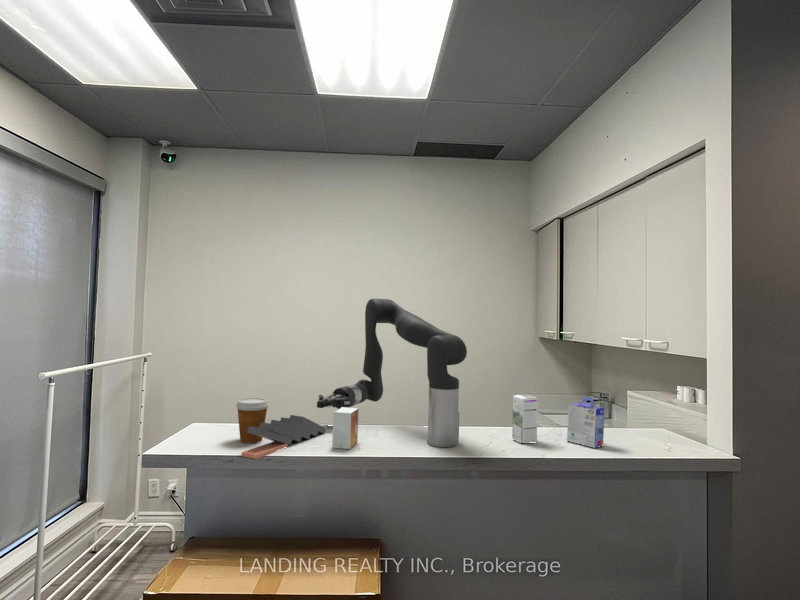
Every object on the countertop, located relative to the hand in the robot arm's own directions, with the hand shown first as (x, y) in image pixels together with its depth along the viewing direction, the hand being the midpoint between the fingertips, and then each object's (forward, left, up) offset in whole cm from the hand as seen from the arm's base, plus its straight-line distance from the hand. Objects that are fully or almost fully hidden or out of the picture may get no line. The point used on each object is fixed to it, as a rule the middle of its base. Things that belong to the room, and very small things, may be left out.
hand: (319, 404), depth 160 cm
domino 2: (+18, +4, -9) cm, 20 cm away
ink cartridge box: (-52, +68, -9) cm, 86 cm away
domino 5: (+4, +1, -8) cm, 9 cm away
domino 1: (+16, +4, -8) cm, 18 cm away
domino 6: (0, 0, -8) cm, 8 cm away
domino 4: (+8, +2, -8) cm, 11 cm away
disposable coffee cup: (+21, -6, -9) cm, 23 cm away
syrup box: (-40, +53, -9) cm, 67 cm away
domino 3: (+12, +3, -8) cm, 14 cm away
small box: (+4, +17, -9) cm, 19 cm away
